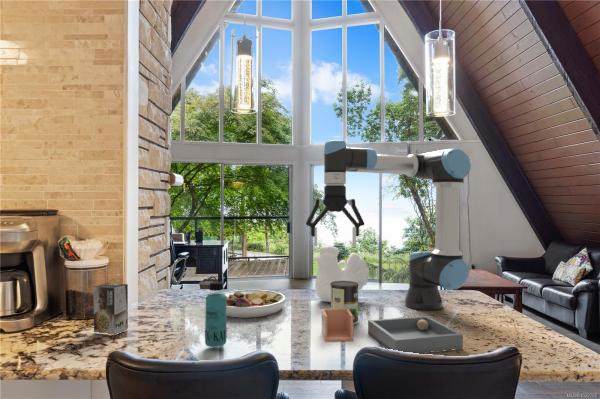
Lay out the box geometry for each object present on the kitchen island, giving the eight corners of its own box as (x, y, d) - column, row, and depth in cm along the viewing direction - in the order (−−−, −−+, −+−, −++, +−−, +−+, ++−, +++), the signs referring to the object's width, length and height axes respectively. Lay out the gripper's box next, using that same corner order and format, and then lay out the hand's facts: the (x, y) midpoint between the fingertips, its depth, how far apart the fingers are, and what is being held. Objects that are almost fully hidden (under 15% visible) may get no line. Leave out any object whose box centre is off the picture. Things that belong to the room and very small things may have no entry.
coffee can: (359, 318, 154) (359, 281, 154) (357, 326, 144) (357, 286, 144) (332, 316, 156) (332, 279, 156) (328, 324, 146) (328, 285, 146)
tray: (427, 328, 141) (427, 315, 141) (462, 349, 122) (462, 334, 122) (368, 333, 136) (368, 320, 136) (395, 355, 117) (395, 340, 117)
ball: (424, 333, 137) (420, 332, 134) (417, 325, 139) (413, 323, 137) (431, 326, 136) (428, 324, 134) (424, 318, 139) (421, 316, 136)
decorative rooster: (316, 307, 170) (316, 247, 170) (312, 298, 185) (312, 243, 185) (375, 306, 171) (375, 247, 171) (367, 297, 187) (367, 243, 187)
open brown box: (321, 332, 138) (321, 308, 138) (348, 331, 138) (348, 308, 138) (324, 341, 129) (324, 316, 129) (353, 341, 129) (353, 315, 129)
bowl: (221, 300, 182) (221, 282, 183) (287, 301, 181) (287, 283, 181) (201, 320, 153) (202, 299, 153) (281, 321, 151) (281, 300, 151)
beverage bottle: (206, 344, 125) (206, 280, 126) (228, 344, 126) (228, 279, 126) (203, 352, 119) (203, 284, 119) (226, 352, 120) (226, 284, 120)
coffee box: (128, 331, 139) (128, 283, 139) (114, 337, 132) (114, 287, 132) (107, 328, 142) (107, 282, 142) (92, 334, 135) (92, 285, 135)
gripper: (300, 184, 137) (299, 247, 137) (372, 184, 139) (372, 246, 139) (298, 185, 145) (298, 245, 145) (367, 185, 146) (367, 244, 146)
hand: (335, 246), depth 142 cm, fingers open, 13 cm apart
